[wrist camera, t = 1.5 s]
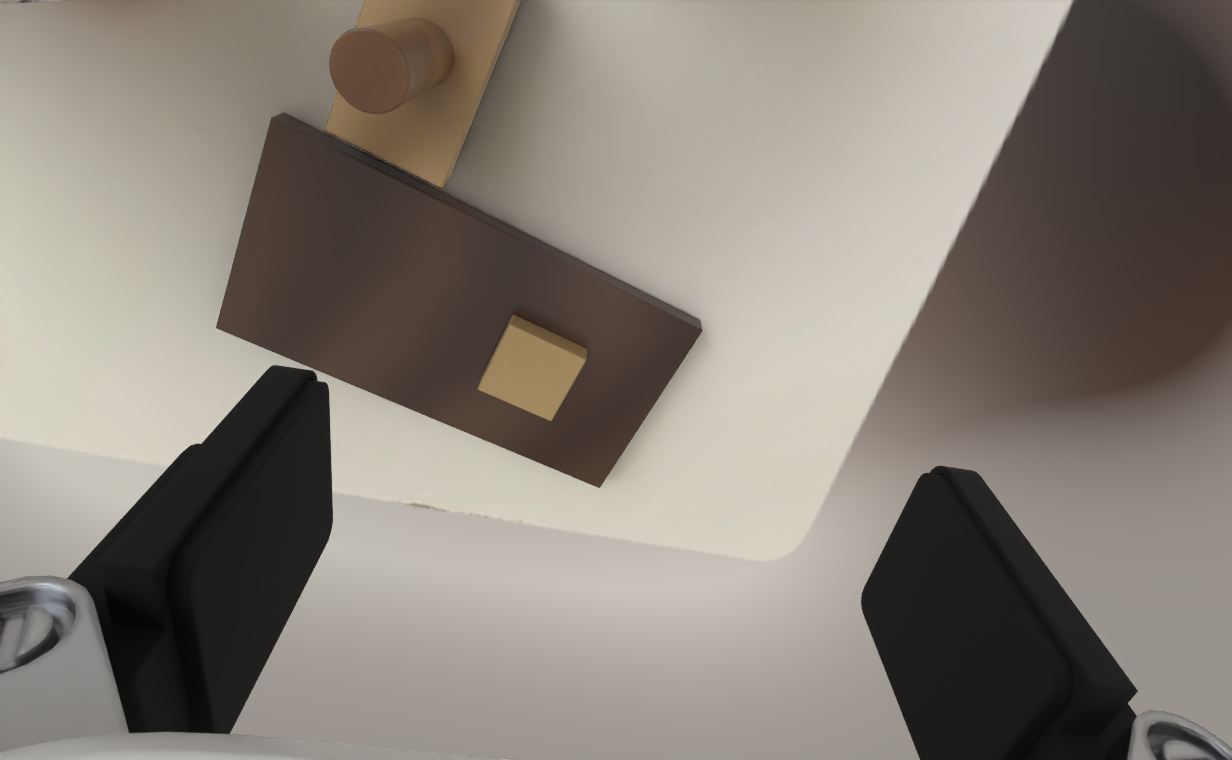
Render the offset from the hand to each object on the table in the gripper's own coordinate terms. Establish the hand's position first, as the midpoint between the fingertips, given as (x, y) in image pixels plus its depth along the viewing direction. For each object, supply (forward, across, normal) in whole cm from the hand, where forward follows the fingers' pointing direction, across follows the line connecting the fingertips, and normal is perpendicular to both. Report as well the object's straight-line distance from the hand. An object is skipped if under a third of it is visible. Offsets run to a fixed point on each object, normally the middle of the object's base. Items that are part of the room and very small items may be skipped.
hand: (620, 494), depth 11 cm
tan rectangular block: (+22, +2, +10) cm, 24 cm away
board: (+23, +6, +9) cm, 26 cm away
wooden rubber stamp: (+23, +8, -3) cm, 25 cm away
